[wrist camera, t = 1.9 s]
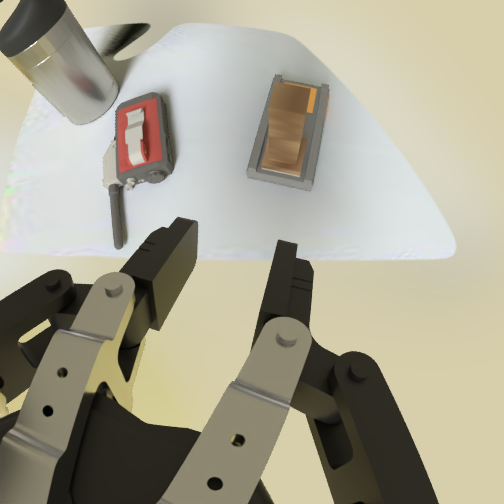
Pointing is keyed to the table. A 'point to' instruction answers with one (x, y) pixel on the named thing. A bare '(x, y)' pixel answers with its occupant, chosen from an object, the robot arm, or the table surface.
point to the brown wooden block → (286, 129)
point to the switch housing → (310, 132)
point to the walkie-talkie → (136, 151)
